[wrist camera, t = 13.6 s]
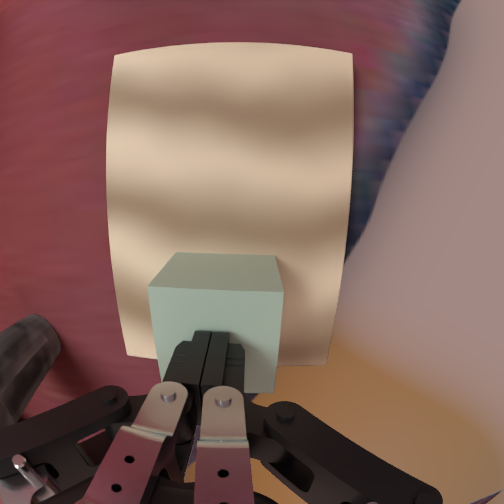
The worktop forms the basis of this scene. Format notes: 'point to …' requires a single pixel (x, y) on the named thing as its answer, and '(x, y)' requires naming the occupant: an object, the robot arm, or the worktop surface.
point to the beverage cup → (24, 364)
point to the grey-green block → (221, 308)
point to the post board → (232, 175)
